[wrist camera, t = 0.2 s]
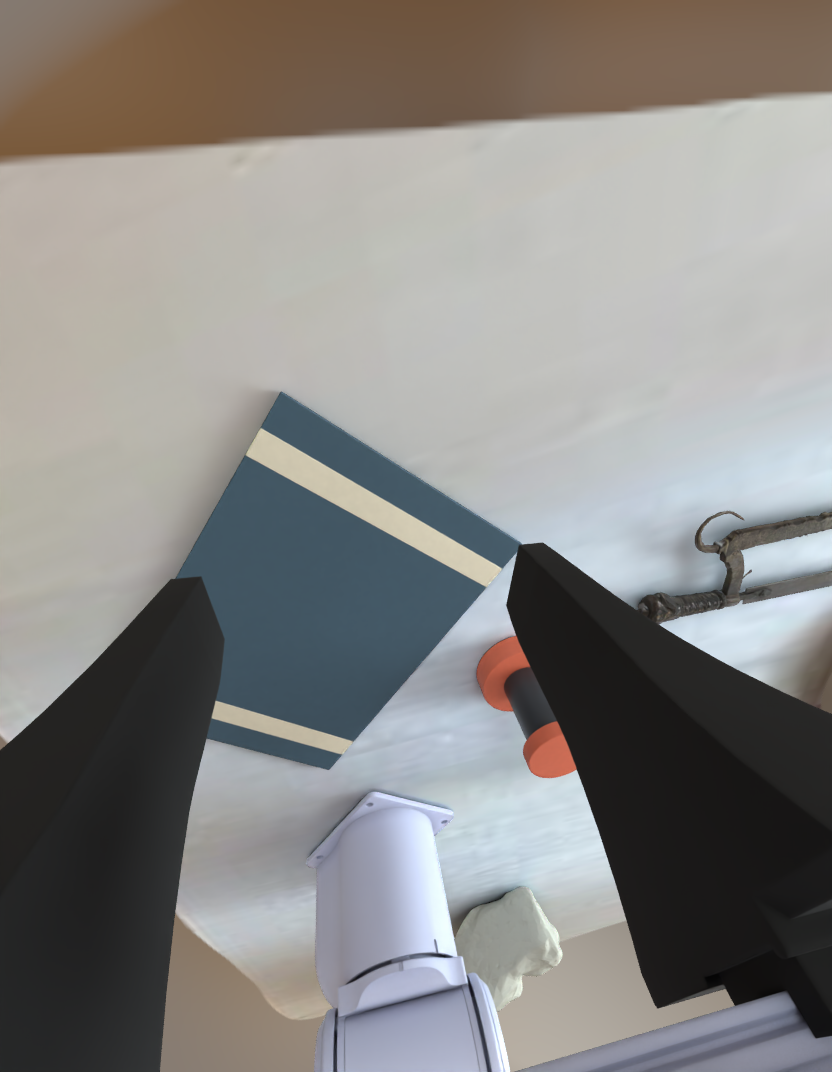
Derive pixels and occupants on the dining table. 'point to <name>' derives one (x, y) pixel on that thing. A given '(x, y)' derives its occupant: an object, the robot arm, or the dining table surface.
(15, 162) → the dining table surface
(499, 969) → the decorative stone
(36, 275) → the dining table surface
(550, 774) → the orange thread spool
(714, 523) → the dining table surface
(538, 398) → the dining table surface
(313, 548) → the tea towel
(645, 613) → the hacksaw
